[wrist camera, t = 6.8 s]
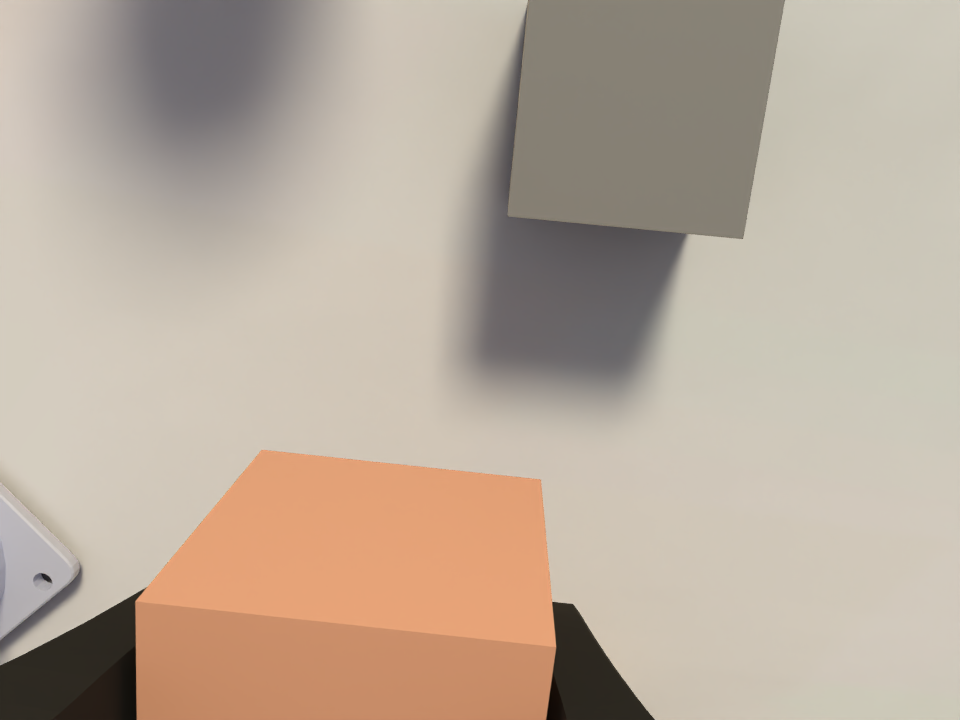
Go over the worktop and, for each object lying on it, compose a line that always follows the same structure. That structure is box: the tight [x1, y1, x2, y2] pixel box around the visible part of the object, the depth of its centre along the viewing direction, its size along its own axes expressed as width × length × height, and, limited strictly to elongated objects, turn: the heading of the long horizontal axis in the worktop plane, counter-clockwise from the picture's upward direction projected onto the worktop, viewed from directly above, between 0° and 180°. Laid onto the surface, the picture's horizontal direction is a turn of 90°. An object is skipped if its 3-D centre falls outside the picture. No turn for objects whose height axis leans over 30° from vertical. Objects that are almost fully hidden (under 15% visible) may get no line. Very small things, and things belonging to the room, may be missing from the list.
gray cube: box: [508, 0, 785, 239], centre depth 17 cm, size 4×4×4 cm
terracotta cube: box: [135, 450, 556, 720], centre depth 11 cm, size 4×4×4 cm
